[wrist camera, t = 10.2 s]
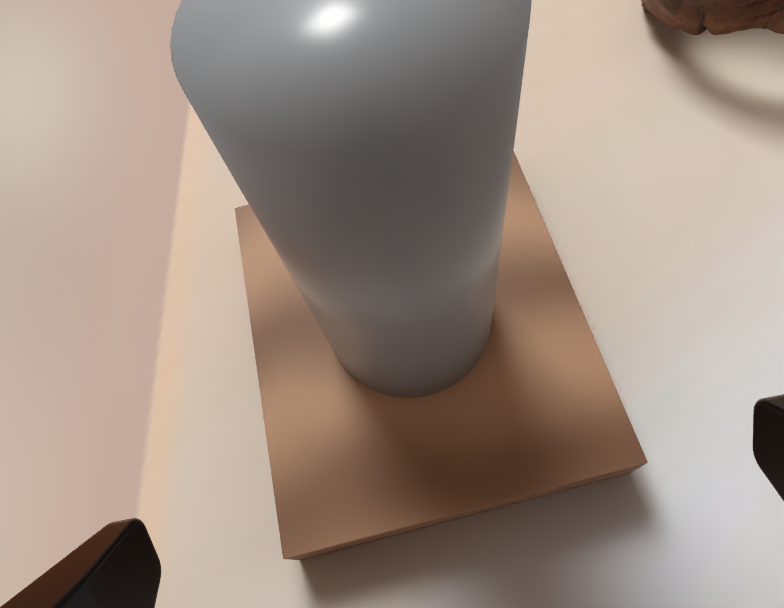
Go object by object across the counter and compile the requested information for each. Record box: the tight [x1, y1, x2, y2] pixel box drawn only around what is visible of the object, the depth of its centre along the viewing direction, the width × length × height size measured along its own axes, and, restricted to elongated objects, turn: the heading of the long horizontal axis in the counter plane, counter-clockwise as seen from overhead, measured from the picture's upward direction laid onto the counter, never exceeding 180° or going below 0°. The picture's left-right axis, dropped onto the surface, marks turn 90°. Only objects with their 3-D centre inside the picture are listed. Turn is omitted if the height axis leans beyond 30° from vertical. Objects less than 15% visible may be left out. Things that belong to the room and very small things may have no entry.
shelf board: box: [235, 151, 647, 560], centre depth 22 cm, size 14×12×2 cm
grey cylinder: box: [170, 0, 531, 398], centre depth 15 cm, size 6×6×13 cm
